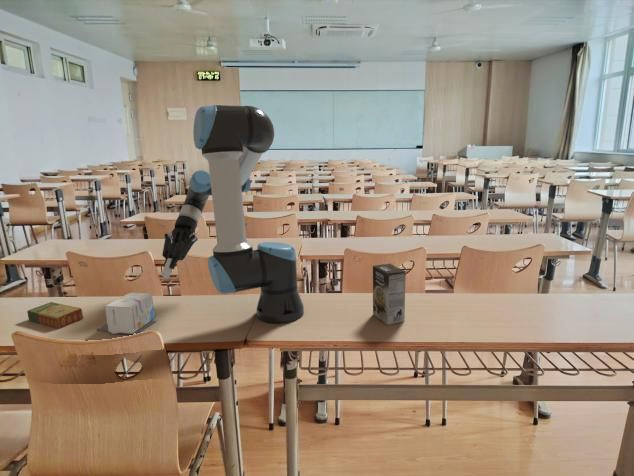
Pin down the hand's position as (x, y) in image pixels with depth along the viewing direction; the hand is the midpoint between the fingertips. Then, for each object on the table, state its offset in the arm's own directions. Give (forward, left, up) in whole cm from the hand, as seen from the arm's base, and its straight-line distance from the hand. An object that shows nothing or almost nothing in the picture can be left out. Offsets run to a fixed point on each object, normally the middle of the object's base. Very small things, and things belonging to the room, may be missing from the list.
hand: (164, 276), depth 147 cm
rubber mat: (+1, +19, -10) cm, 22 cm away
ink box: (-1, +13, -5) cm, 14 cm away
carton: (+28, +21, -11) cm, 36 cm away
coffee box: (-76, -6, -10) cm, 77 cm away
